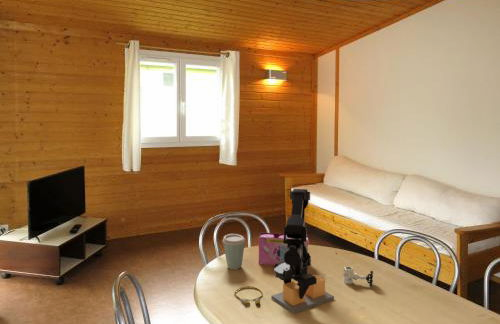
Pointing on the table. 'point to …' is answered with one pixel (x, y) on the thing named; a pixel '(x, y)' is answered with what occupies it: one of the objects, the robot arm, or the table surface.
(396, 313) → the table surface
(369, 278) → the valve
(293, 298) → the matte orange cube
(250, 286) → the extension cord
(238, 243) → the disposable coffee cup
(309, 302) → the board
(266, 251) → the gum box
